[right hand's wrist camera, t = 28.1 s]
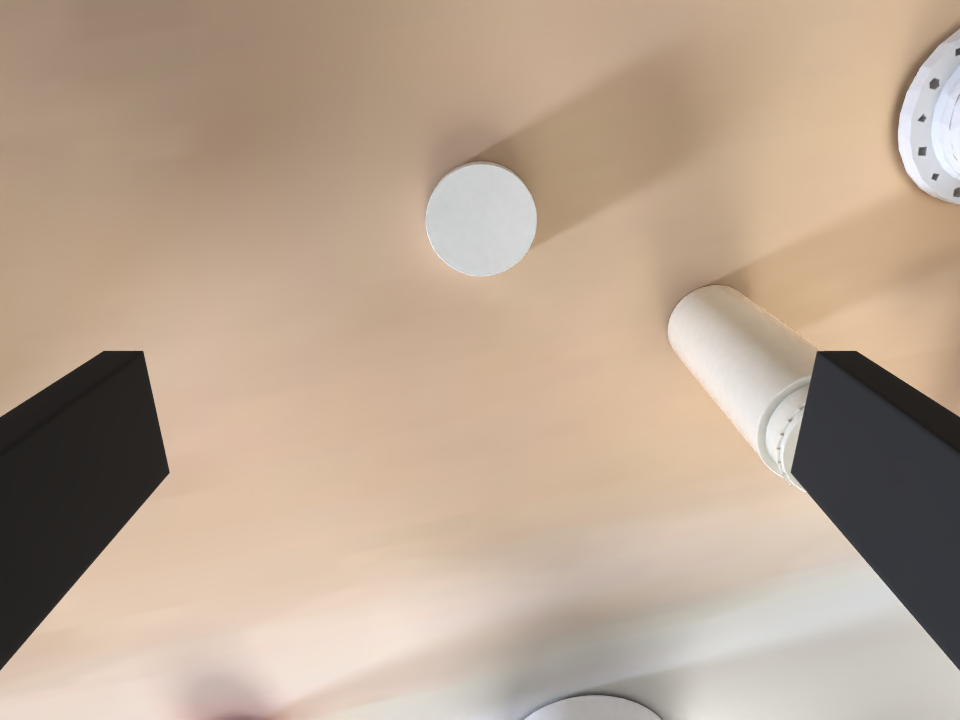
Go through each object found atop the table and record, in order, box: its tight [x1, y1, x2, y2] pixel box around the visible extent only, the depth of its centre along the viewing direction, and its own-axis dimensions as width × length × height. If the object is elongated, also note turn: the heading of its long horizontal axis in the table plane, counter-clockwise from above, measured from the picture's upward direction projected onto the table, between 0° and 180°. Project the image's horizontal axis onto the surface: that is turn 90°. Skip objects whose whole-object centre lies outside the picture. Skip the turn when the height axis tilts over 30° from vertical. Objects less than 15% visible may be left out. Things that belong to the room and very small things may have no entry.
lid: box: [426, 161, 537, 276], centre depth 36 cm, size 6×6×2 cm
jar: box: [668, 285, 824, 493], centre depth 32 cm, size 5×5×15 cm
